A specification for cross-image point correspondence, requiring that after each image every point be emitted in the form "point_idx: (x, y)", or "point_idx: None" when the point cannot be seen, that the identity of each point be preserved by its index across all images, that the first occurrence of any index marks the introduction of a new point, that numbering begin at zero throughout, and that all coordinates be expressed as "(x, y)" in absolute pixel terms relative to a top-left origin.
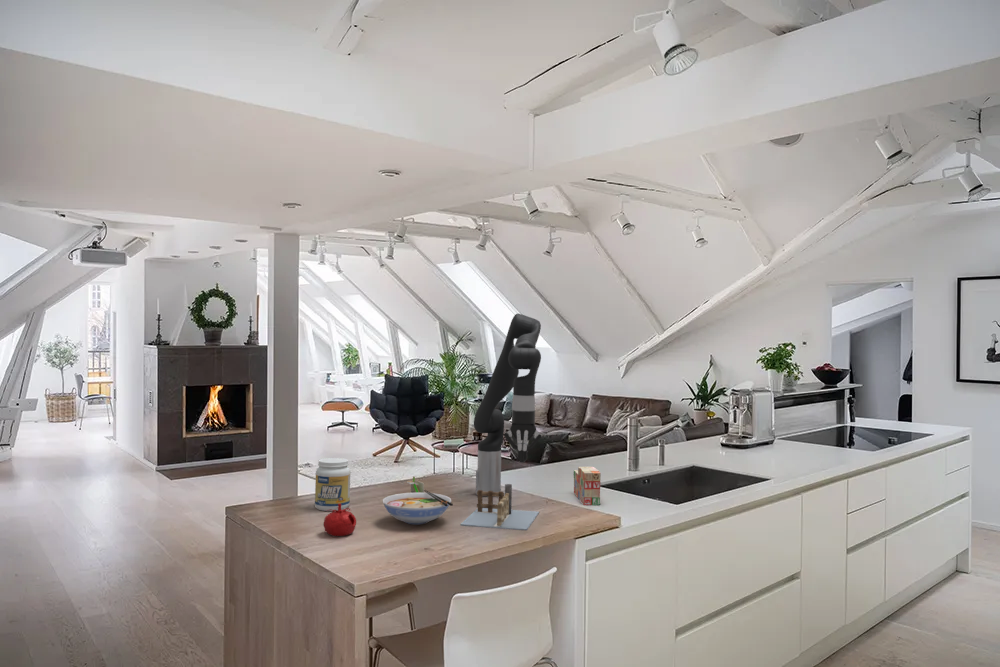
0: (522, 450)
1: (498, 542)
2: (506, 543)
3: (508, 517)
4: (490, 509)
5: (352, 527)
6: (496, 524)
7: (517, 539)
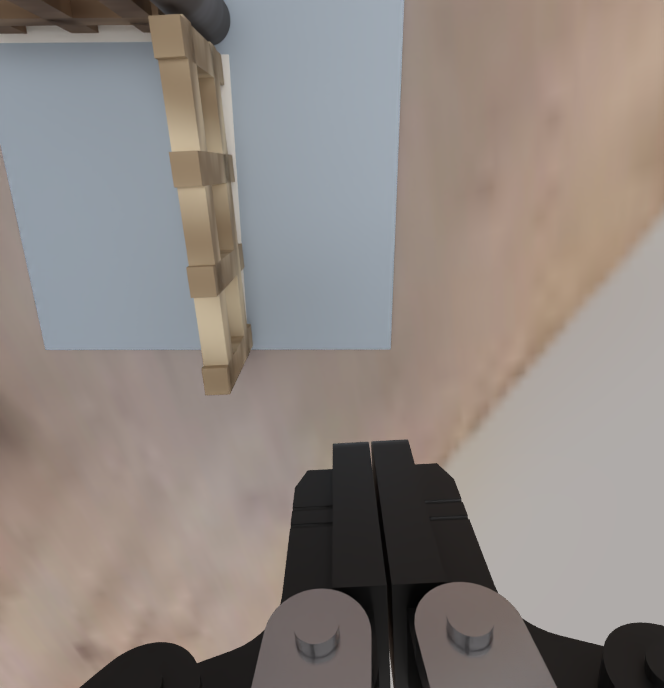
0: (379, 629)
1: None
2: None
3: (239, 129)
4: (78, 27)
5: None
6: None
7: None
